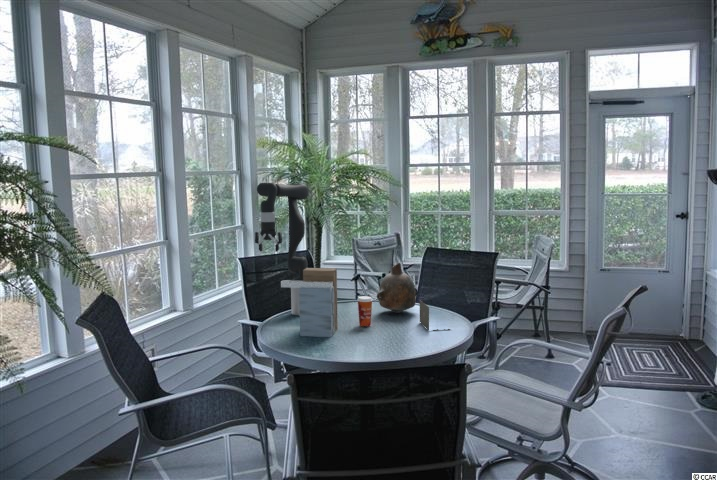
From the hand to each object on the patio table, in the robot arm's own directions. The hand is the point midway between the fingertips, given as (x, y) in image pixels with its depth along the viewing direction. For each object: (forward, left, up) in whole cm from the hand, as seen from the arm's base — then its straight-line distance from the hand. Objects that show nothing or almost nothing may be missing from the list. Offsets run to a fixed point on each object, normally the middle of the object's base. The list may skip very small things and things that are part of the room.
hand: (268, 251), depth 302 cm
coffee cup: (-8, +50, -40) cm, 65 cm away
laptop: (-11, +87, -41) cm, 97 cm away
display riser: (+10, +29, -40) cm, 50 cm away
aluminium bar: (+13, +24, -16) cm, 32 cm away
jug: (-37, +64, -40) cm, 84 cm away
